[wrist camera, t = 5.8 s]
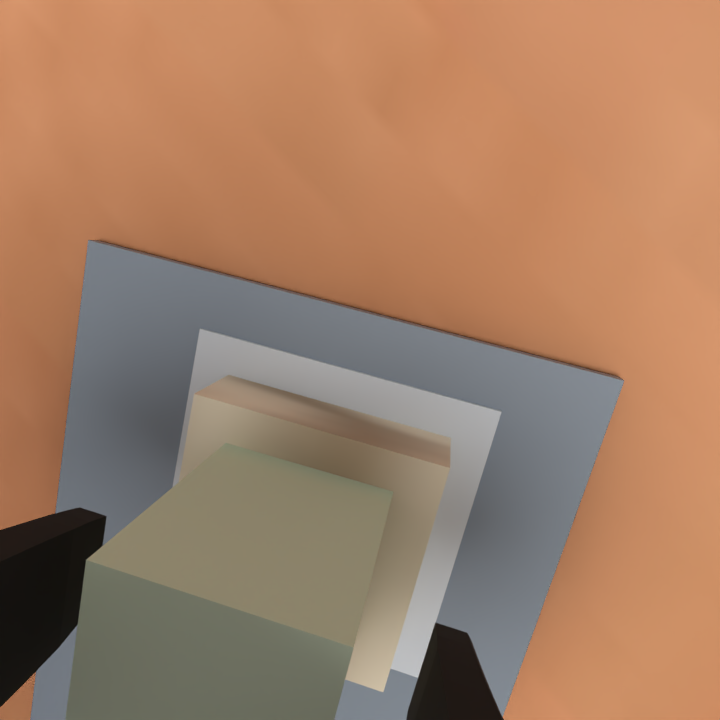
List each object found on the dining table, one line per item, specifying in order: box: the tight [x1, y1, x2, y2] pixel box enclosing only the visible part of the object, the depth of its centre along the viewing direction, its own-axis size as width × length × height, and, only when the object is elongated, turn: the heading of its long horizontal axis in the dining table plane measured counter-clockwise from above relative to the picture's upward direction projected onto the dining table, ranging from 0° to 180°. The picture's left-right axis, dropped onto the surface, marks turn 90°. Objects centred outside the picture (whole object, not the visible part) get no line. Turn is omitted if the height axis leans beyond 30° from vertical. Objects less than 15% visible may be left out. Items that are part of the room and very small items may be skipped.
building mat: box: [30, 240, 624, 720], centre depth 16 cm, size 14×16×1 cm
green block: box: [65, 443, 393, 720], centre depth 11 cm, size 4×4×5 cm
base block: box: [179, 375, 451, 692], centre depth 14 cm, size 6×6×2 cm
